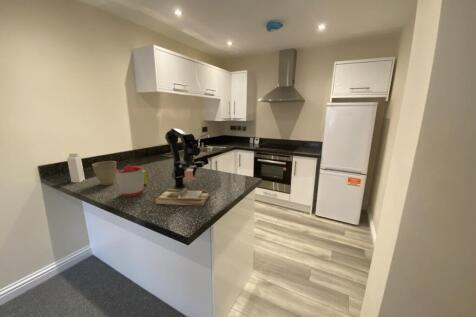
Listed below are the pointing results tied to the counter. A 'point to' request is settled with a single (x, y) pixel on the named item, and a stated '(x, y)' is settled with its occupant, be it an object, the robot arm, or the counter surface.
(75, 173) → the milk
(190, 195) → the slide cover
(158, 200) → the puzzle board
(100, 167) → the plant pot
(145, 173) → the puzzle toy
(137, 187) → the citrus juicer
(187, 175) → the block
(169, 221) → the counter surface
